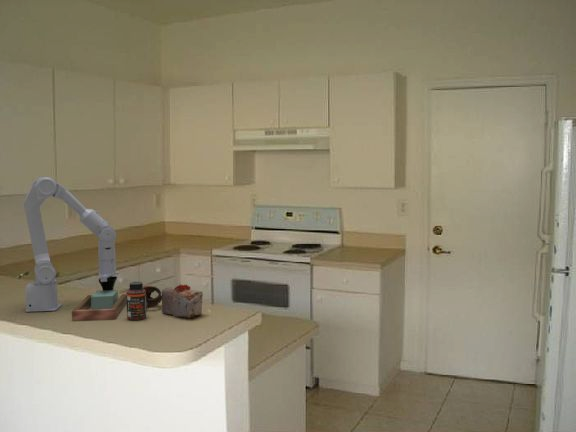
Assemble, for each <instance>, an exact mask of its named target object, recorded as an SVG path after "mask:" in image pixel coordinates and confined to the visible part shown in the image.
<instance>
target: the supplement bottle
mask: <svg viewBox="0 0 576 432" xmlns="http://www.w3.org/2000/svg"><path fill="white" fill-rule="evenodd" d="M143 283H144V282H142V281H131V282H129V285H128V286H129V288H128V289H127V290H126V293H125V294H126V297H127V303H126V319H128V320H131V321H140V320H143V319H146V318H147V310H146V290H145V289H143V287H144V286H143Z"/></svg>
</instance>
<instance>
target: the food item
mask: <svg viewBox="0 0 576 432" xmlns="http://www.w3.org/2000/svg"><path fill="white" fill-rule="evenodd" d="M161 296H162V300H161V312H162V314H163V315H164V314H165V315H171V316H173V317H174V318H179V317H180V318H181V317H182V318H185V317H186V319H192V318H191V317H193V318H195V316H197V317H200V316H202V315H203V314H202V313H203V312H202V308H203V291H201V290H194V289H191V286H190V285H188V284H181V283H180V284H179V285H177V286H169V287H166V288H164V289H162V290H161ZM199 315H200V316H199Z"/></svg>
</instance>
